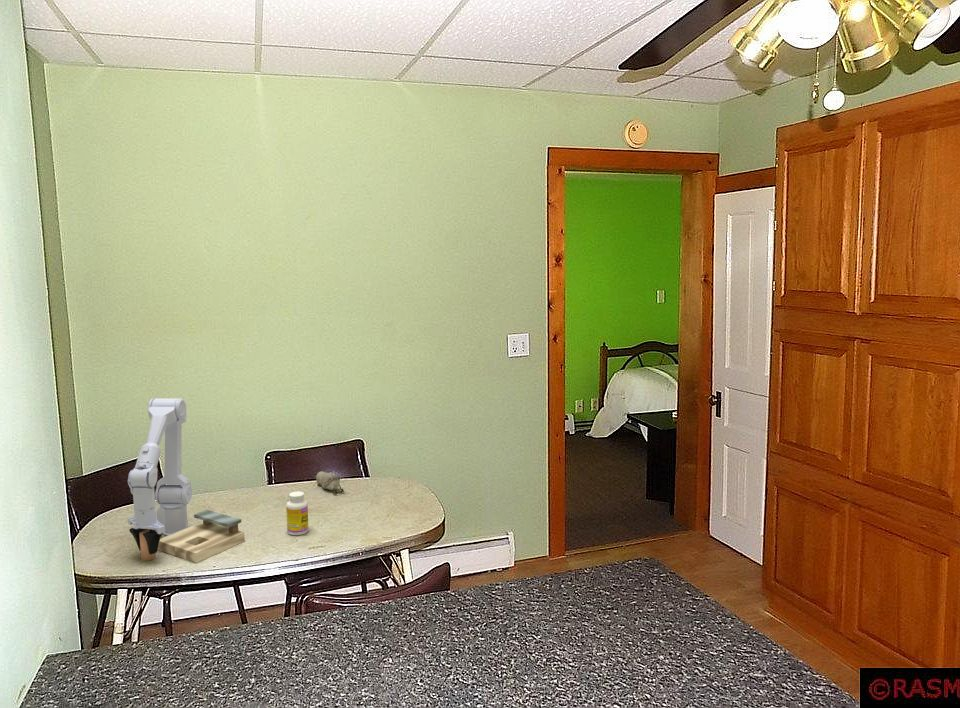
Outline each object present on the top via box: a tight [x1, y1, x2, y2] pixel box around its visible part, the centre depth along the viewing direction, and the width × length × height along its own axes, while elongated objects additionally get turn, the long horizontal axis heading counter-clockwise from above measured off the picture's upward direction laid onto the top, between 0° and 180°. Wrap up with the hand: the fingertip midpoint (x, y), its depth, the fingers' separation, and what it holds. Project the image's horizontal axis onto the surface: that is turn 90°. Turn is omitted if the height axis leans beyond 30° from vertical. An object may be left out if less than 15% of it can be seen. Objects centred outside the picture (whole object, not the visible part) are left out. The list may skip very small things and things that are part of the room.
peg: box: [139, 530, 157, 562], centre depth 218 cm, size 4×4×8 cm
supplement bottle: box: [285, 490, 309, 536], centre depth 237 cm, size 7×7×13 cm
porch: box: [157, 509, 245, 564], centre depth 227 cm, size 18×18×7 cm
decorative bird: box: [315, 470, 345, 496], centre depth 277 cm, size 5×16×8 cm, turn 42°
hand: (148, 551), depth 219 cm, fingers open, 4 cm apart
